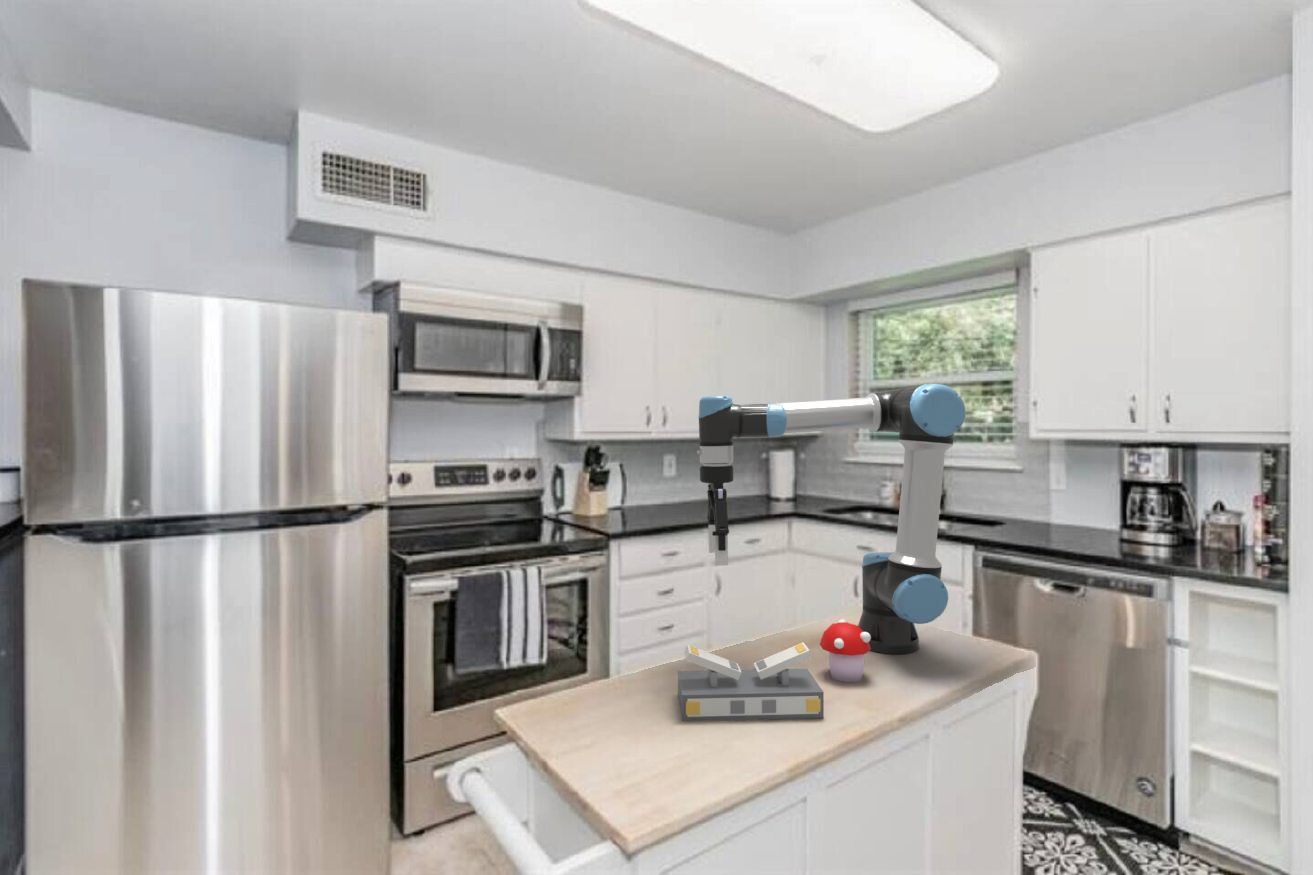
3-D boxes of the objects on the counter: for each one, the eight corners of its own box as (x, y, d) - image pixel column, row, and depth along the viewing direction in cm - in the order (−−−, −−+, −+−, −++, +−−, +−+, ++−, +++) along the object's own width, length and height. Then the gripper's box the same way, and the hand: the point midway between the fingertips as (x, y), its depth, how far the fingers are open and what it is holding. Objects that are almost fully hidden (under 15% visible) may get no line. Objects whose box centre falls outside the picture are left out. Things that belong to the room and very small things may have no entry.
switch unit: (807, 691, 139) (807, 655, 139) (824, 718, 127) (824, 678, 127) (678, 694, 138) (677, 657, 138) (682, 722, 126) (682, 681, 126)
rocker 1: (734, 670, 135) (738, 662, 135) (738, 680, 130) (741, 671, 130) (684, 651, 134) (687, 643, 134) (686, 660, 130) (689, 651, 130)
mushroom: (870, 688, 141) (870, 632, 140) (817, 682, 144) (817, 627, 144) (871, 670, 151) (871, 617, 150) (821, 664, 154) (821, 613, 154)
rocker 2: (806, 649, 135) (803, 641, 135) (812, 657, 130) (809, 649, 130) (756, 670, 135) (753, 662, 135) (760, 679, 130) (757, 671, 130)
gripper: (695, 461, 163) (697, 547, 163) (704, 469, 138) (706, 571, 138) (726, 460, 163) (727, 547, 163) (741, 468, 138) (742, 570, 138)
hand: (718, 558), depth 151 cm, fingers open, 13 cm apart
